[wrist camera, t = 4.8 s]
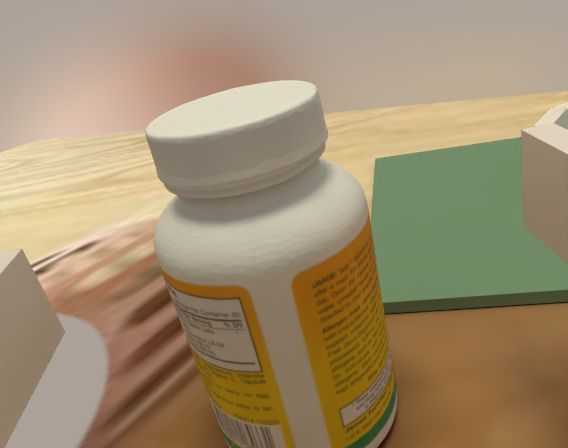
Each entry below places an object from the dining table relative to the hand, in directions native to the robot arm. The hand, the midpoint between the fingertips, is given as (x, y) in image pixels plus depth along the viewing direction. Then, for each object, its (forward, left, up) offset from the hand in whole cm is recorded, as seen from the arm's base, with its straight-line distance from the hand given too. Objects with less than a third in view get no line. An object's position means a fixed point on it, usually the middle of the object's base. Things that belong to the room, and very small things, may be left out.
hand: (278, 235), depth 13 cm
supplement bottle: (0, 0, -6) cm, 6 cm away
